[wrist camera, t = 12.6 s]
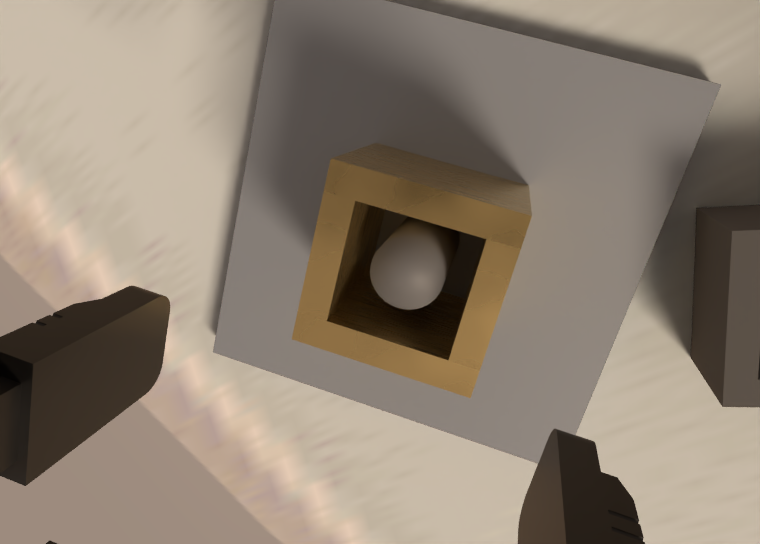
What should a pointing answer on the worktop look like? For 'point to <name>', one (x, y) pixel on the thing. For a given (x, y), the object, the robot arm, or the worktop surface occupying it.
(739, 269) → the grey hollow square block
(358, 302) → the brass collar
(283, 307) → the post block
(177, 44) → the worktop surface
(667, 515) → the worktop surface
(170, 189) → the worktop surface
